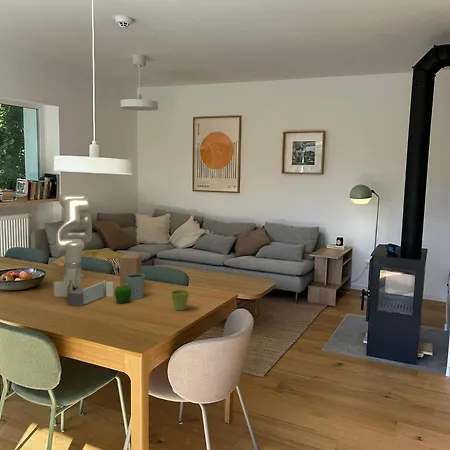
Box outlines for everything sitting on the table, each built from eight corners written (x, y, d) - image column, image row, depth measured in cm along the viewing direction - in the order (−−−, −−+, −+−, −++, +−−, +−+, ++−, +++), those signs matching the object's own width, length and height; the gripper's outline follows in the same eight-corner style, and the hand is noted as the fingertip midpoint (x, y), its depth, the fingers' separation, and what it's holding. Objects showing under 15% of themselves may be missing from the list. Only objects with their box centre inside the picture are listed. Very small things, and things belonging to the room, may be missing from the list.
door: (102, 296, 243) (101, 282, 242) (106, 296, 242) (105, 282, 241) (83, 304, 229) (82, 289, 228) (87, 304, 228) (86, 289, 227)
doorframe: (55, 295, 245) (54, 277, 243) (113, 296, 245) (113, 278, 244) (54, 296, 243) (53, 278, 242) (113, 296, 244) (112, 279, 242)
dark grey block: (68, 305, 228) (67, 292, 227) (79, 299, 238) (78, 287, 237) (80, 306, 227) (80, 293, 226) (90, 300, 236) (90, 288, 235)
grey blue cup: (126, 299, 239) (125, 277, 237) (126, 294, 249) (125, 273, 247) (145, 298, 241) (145, 277, 239) (144, 293, 251) (144, 272, 249)
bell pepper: (111, 303, 233) (110, 284, 232) (121, 298, 240) (120, 280, 239) (124, 305, 229) (123, 286, 228) (134, 301, 237) (133, 282, 235)
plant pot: (168, 307, 227) (168, 290, 226) (186, 305, 231) (186, 288, 229) (173, 312, 218) (173, 295, 217) (191, 310, 222) (191, 293, 221)
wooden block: (142, 287, 263) (141, 254, 260) (137, 292, 253) (136, 257, 251) (125, 287, 264) (125, 253, 261) (120, 291, 254) (119, 257, 252)
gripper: (71, 261, 242) (72, 294, 244) (61, 268, 227) (62, 303, 230) (85, 262, 242) (86, 294, 245) (76, 268, 227) (77, 303, 230)
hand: (74, 298), depth 237 cm, fingers closed
